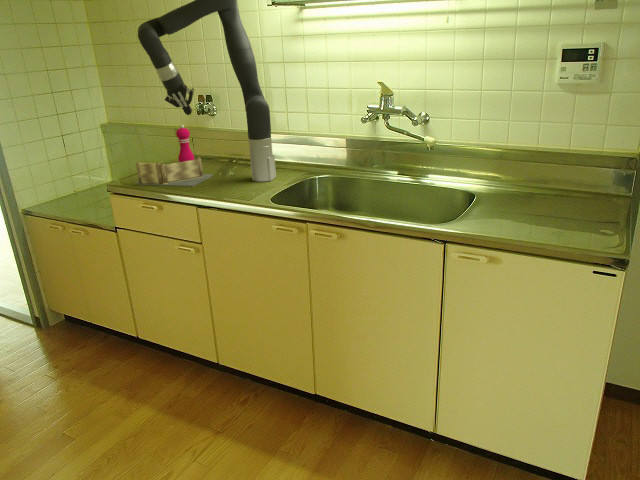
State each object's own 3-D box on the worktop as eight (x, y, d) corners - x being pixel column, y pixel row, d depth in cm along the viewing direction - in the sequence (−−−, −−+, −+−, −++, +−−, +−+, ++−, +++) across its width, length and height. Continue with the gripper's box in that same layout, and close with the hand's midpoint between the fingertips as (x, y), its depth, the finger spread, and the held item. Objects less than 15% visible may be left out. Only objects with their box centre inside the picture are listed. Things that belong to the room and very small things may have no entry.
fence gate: (163, 182, 226) (160, 164, 223) (162, 181, 227) (159, 164, 224) (203, 175, 234) (201, 158, 231) (202, 174, 235) (199, 157, 233)
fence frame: (138, 183, 229) (134, 163, 226) (140, 182, 231) (137, 162, 228) (161, 183, 226) (158, 163, 223) (164, 182, 228) (160, 162, 225)
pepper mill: (193, 169, 250) (187, 125, 243) (178, 170, 250) (171, 126, 243) (197, 165, 257) (191, 122, 249) (182, 166, 257) (175, 123, 250)
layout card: (213, 175, 238) (213, 174, 237) (193, 186, 221) (193, 185, 221) (156, 173, 245) (156, 172, 245) (133, 184, 229) (133, 183, 229)
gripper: (186, 66, 212) (206, 105, 223) (156, 75, 215) (177, 113, 226) (182, 74, 206) (202, 114, 217) (151, 84, 210) (172, 122, 220)
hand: (189, 113), depth 222 cm, fingers closed
